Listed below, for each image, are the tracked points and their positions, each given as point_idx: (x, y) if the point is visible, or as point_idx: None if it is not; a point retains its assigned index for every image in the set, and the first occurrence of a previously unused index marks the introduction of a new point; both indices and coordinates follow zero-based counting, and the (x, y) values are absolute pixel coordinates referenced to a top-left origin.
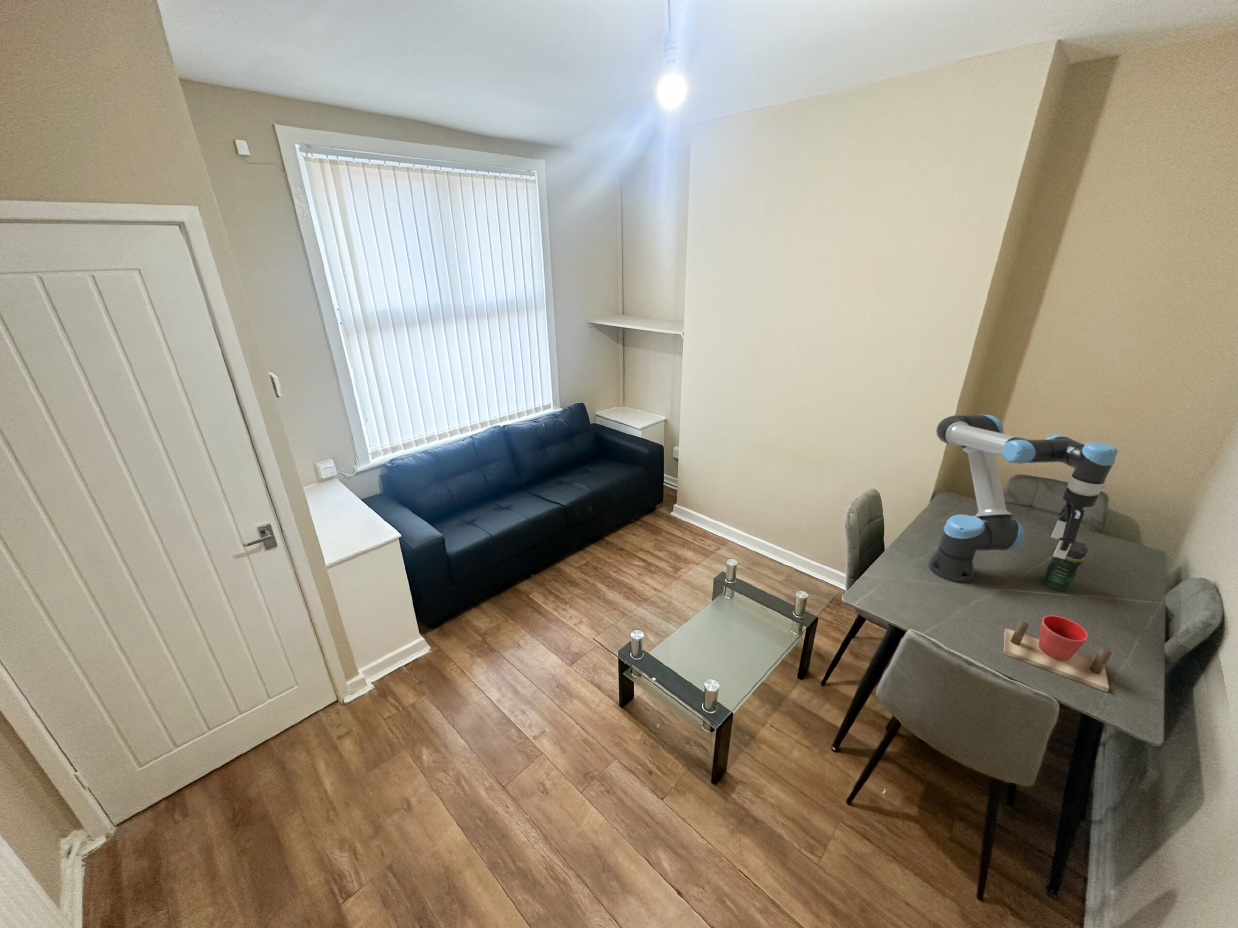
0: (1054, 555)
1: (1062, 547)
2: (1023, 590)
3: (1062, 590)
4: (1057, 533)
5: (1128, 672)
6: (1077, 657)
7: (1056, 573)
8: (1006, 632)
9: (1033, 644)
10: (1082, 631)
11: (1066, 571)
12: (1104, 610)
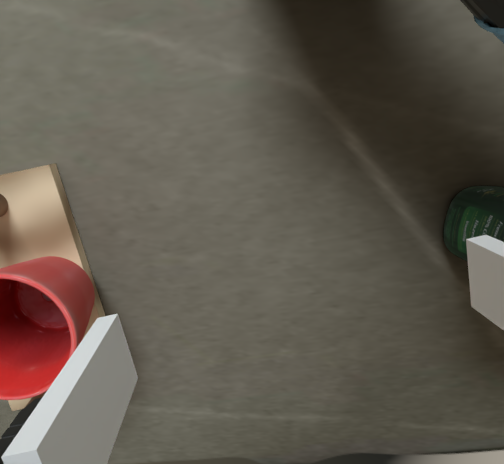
0: (94, 326)
1: (12, 432)
2: (366, 152)
3: (447, 247)
4: (502, 285)
5: (150, 422)
6: None
7: (487, 229)
8: (24, 172)
9: (34, 246)
10: (50, 379)
11: None
12: (420, 346)
